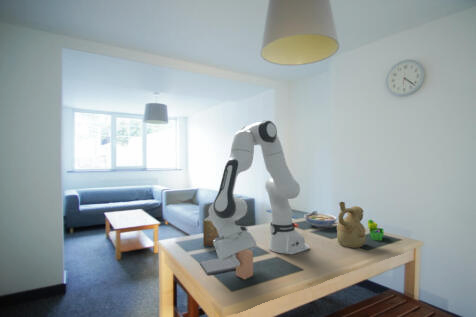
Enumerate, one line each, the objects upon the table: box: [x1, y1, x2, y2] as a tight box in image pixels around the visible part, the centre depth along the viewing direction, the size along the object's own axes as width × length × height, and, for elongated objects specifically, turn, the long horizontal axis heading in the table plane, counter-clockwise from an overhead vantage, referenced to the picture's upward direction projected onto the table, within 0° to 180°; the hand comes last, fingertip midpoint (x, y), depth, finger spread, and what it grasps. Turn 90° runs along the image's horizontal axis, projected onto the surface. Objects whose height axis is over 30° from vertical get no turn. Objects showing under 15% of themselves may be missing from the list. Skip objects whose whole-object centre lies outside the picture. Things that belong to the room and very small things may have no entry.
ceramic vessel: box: [336, 201, 367, 249], centre depth 143 cm, size 17×20×25 cm
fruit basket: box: [366, 219, 385, 242], centre depth 154 cm, size 11×9×11 cm
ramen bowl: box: [303, 210, 338, 229], centre depth 180 cm, size 25×23×8 cm
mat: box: [199, 257, 236, 276], centre depth 114 cm, size 16×12×1 cm
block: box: [235, 249, 254, 281], centre depth 104 cm, size 5×5×10 cm
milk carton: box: [202, 215, 220, 247], centre depth 145 cm, size 11×11×19 cm
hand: (245, 263), depth 104 cm, fingers closed on block, 5 cm apart
